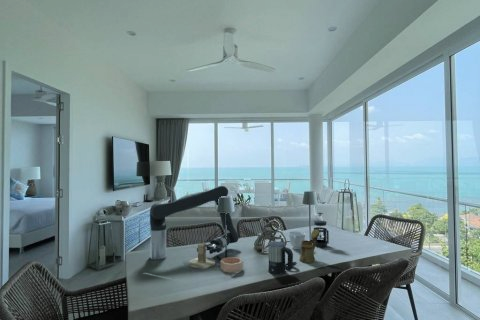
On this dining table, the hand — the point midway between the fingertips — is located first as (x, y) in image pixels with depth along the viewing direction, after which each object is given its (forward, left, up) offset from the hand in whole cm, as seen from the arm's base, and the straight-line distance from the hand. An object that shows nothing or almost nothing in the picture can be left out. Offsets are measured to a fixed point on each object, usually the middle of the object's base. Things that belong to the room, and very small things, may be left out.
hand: (203, 251), depth 156 cm
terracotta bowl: (+11, -15, -8) cm, 20 cm away
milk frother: (+35, -28, -8) cm, 45 cm away
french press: (+85, -5, -8) cm, 85 cm away
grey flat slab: (-1, -1, -8) cm, 8 cm away
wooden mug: (+59, -23, -8) cm, 63 cm away
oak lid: (-1, -1, -7) cm, 7 cm away
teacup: (+66, -2, -8) cm, 66 cm away
